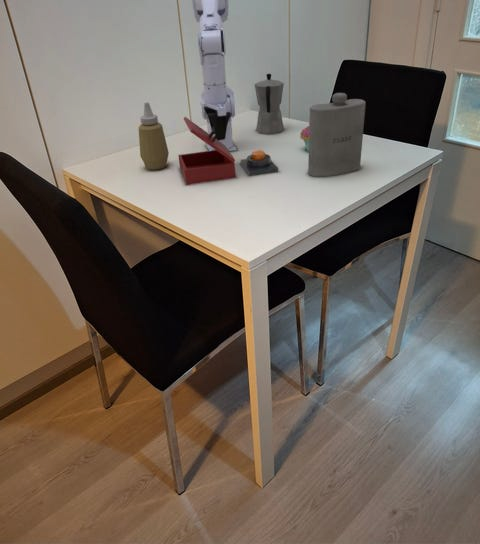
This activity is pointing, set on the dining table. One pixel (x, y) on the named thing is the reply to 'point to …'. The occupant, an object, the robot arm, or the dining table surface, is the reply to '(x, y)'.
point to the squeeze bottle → (152, 141)
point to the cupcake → (305, 137)
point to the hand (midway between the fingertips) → (218, 136)
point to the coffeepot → (269, 106)
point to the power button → (258, 155)
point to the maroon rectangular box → (205, 167)
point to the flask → (336, 136)
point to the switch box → (258, 165)
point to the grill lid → (209, 139)
